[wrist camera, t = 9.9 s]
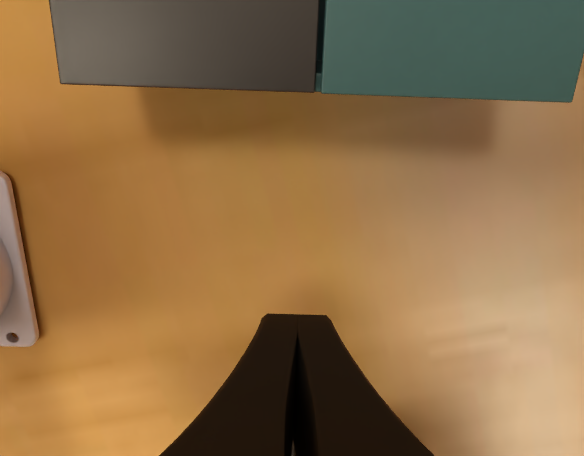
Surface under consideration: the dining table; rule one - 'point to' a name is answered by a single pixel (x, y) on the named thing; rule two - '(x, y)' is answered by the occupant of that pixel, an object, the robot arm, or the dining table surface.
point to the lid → (188, 43)
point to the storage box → (451, 48)
